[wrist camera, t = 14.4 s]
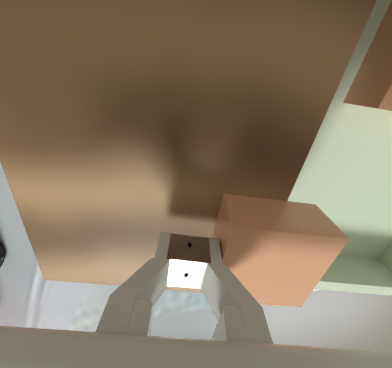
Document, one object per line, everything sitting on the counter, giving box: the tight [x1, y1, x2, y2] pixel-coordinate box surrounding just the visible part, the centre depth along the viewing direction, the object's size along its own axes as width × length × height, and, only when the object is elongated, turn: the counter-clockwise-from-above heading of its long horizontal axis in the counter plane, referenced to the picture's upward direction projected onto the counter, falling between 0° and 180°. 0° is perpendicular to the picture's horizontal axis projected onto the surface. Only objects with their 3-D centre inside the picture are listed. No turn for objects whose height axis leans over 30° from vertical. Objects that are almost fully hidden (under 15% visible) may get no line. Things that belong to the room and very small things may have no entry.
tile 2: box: [212, 193, 349, 307], centre depth 10 cm, size 5×5×2 cm
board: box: [0, 0, 377, 292], centre depth 10 cm, size 22×14×4 cm, turn 172°
